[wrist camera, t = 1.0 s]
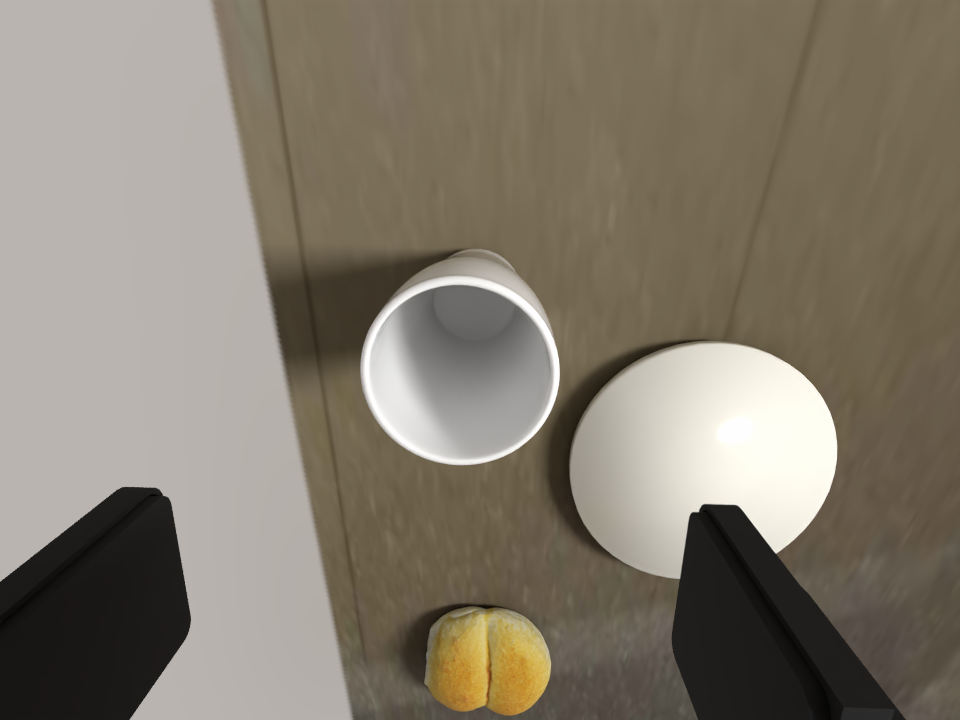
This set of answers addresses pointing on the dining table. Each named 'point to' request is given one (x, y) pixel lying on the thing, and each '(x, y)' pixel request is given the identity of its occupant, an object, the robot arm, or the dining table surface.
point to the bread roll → (486, 660)
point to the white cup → (461, 361)
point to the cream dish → (700, 450)
